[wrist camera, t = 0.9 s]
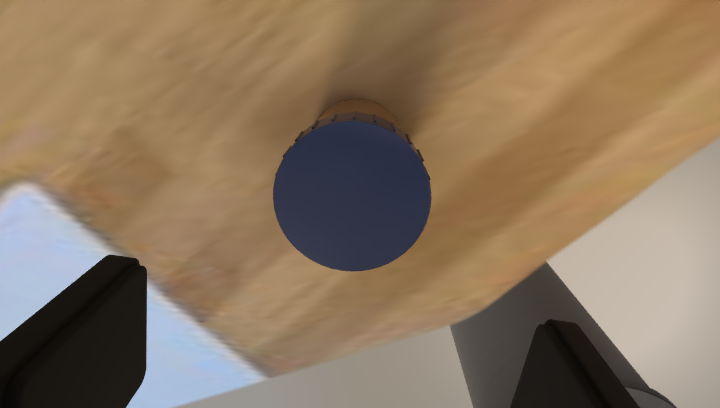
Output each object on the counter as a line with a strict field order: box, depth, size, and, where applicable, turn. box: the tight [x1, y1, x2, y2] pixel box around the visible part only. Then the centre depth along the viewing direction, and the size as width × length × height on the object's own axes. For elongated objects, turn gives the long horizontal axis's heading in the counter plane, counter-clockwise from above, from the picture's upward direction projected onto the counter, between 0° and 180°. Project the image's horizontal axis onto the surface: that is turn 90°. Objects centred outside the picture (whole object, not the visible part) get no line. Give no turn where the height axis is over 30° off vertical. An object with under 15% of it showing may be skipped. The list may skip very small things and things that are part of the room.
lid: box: [273, 111, 431, 271], centre depth 21 cm, size 7×7×3 cm
